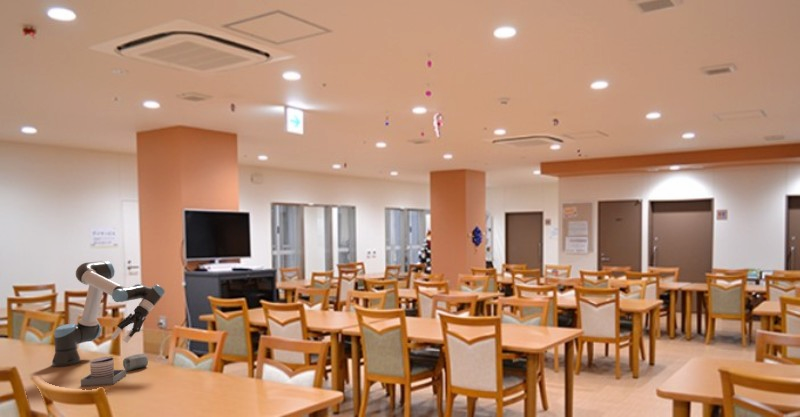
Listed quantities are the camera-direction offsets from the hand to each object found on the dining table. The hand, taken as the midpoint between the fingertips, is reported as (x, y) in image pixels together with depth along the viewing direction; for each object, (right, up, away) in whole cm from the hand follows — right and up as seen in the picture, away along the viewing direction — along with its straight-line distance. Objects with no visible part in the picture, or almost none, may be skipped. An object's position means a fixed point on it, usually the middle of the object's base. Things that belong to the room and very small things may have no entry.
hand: (118, 339), depth 326 cm
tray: (-3, -20, -10) cm, 23 cm away
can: (-4, -20, -11) cm, 23 cm away
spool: (+3, -20, +13) cm, 25 cm away
